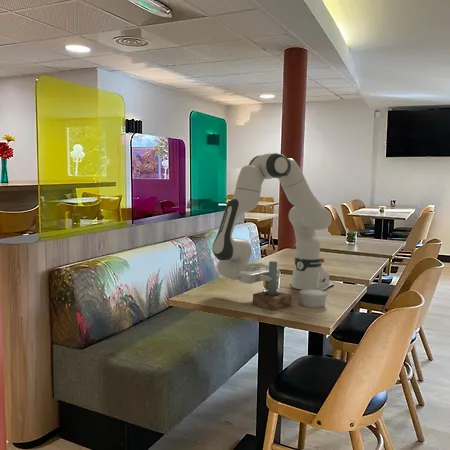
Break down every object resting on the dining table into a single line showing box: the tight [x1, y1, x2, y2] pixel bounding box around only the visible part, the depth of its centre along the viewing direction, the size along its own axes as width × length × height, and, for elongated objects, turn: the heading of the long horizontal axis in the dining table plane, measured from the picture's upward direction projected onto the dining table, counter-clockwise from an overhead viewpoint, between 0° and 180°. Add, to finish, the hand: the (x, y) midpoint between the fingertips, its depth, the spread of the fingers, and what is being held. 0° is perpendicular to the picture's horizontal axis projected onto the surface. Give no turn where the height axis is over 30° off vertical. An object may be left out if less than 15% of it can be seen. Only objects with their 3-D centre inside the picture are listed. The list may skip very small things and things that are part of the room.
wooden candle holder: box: [252, 290, 293, 312], centre depth 186 cm, size 11×11×4 cm
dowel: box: [267, 260, 278, 297], centre depth 185 cm, size 3×3×16 cm
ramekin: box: [298, 289, 328, 309], centre depth 189 cm, size 11×11×5 cm
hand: (274, 278), depth 185 cm, fingers closed on dowel, 3 cm apart
